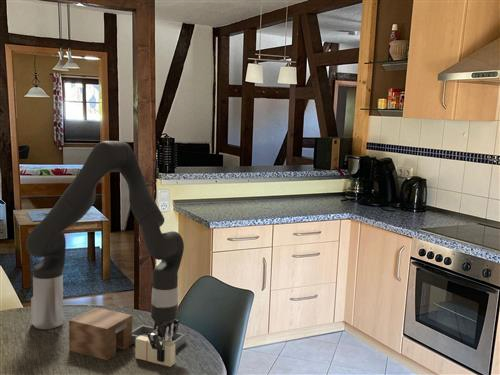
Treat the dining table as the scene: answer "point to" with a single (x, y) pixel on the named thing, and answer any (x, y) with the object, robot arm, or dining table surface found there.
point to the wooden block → (100, 333)
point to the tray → (146, 330)
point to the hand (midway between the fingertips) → (163, 358)
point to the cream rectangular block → (154, 351)
